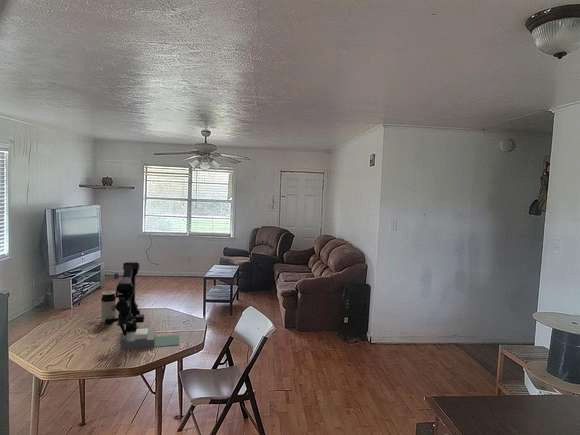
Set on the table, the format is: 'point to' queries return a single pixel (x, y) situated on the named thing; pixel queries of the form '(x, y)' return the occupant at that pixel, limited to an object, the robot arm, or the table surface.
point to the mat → (167, 341)
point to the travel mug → (108, 305)
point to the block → (141, 333)
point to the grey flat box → (137, 341)
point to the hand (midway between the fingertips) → (125, 335)
